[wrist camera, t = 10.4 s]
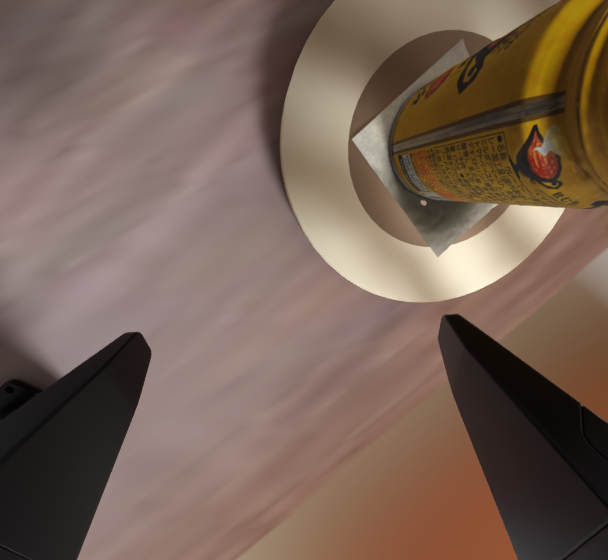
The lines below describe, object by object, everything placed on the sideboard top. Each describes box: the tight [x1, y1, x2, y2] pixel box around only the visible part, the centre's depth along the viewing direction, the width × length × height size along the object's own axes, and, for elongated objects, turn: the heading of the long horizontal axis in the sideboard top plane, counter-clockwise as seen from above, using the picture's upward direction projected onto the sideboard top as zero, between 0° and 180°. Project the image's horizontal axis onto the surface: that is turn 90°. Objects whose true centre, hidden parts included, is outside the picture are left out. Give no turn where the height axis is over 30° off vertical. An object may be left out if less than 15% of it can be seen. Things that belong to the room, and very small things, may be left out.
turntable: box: [280, 0, 565, 302], centre depth 18 cm, size 18×18×2 cm
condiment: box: [352, 0, 608, 257], centre depth 12 cm, size 7×8×12 cm
